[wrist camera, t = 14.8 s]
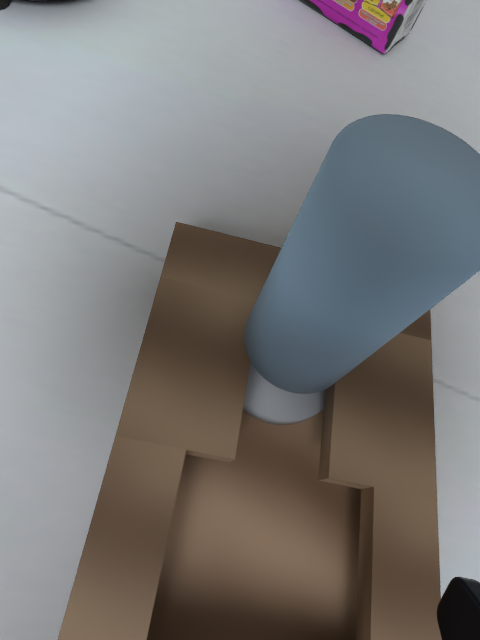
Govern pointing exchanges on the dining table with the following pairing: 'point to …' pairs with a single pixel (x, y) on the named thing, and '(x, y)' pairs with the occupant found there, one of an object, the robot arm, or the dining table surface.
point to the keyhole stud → (362, 259)
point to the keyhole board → (259, 482)
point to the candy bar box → (372, 18)
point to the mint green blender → (2, 1)
